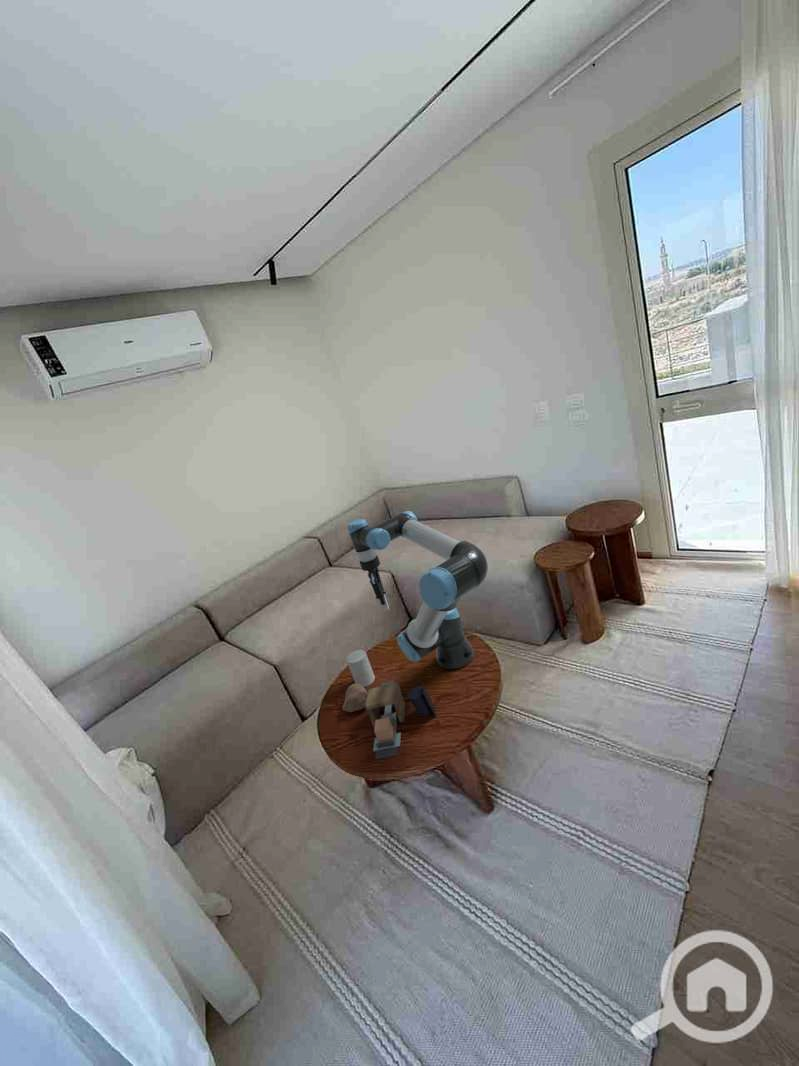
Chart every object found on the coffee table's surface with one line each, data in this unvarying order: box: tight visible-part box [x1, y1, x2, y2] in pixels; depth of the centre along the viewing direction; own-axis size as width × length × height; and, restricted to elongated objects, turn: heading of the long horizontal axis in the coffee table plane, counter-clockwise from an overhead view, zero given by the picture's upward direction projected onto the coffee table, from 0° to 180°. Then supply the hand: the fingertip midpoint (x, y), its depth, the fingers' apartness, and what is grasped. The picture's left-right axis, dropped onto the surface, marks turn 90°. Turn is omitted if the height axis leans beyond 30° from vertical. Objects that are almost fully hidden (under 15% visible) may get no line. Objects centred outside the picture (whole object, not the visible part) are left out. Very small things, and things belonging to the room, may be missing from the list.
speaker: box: [408, 683, 437, 717], centre depth 150 cm, size 8×6×10 cm
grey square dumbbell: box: [376, 680, 398, 748], centre depth 153 cm, size 6×26×5 cm, turn 177°
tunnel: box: [365, 682, 406, 729], centre depth 154 cm, size 11×9×9 cm
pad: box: [372, 732, 402, 752], centre depth 144 cm, size 9×6×1 cm, turn 87°
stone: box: [341, 683, 368, 713], centre depth 165 cm, size 12×9×10 cm
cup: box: [345, 649, 376, 688], centre depth 177 cm, size 8×8×12 cm
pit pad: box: [374, 747, 398, 760], centre depth 139 cm, size 7×3×1 cm, turn 87°
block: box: [373, 717, 393, 742], centre depth 143 cm, size 5×5×5 cm
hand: (386, 609), depth 177 cm, fingers closed
